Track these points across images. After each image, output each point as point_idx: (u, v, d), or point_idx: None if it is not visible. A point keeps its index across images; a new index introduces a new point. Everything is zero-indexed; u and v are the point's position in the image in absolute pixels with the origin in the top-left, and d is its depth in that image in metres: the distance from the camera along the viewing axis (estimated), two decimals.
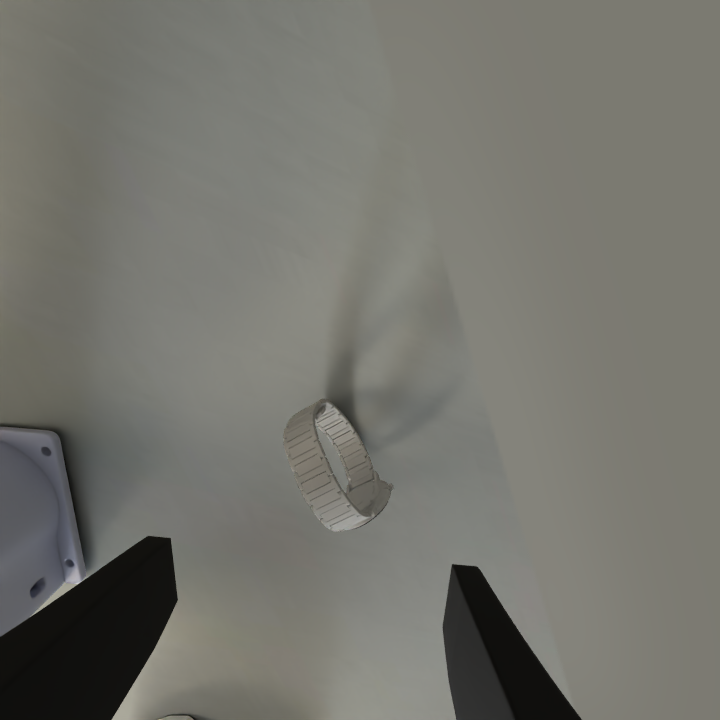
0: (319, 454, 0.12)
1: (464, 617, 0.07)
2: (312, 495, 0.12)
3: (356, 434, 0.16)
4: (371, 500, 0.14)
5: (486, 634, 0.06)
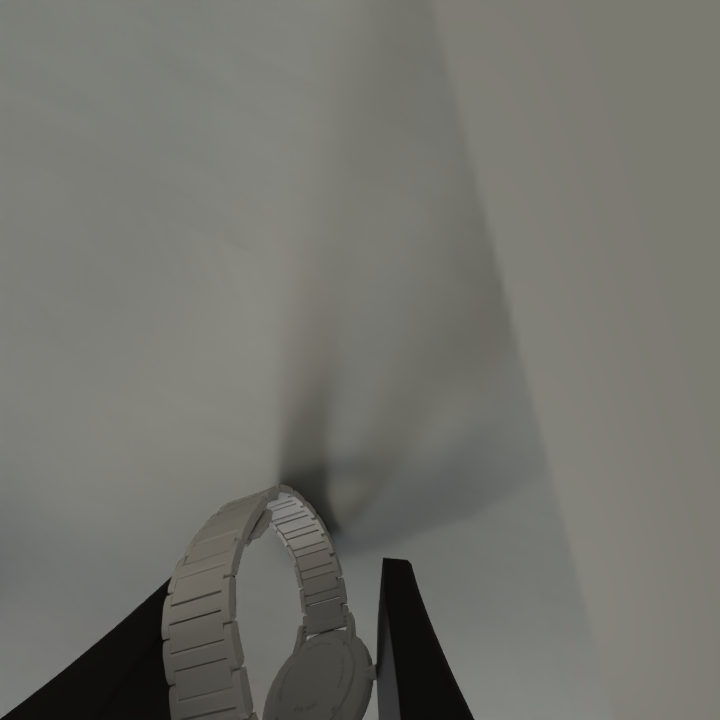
0: (229, 661, 0.05)
1: (383, 608, 0.07)
2: None
3: (327, 538, 0.10)
4: (335, 706, 0.07)
5: (398, 625, 0.07)
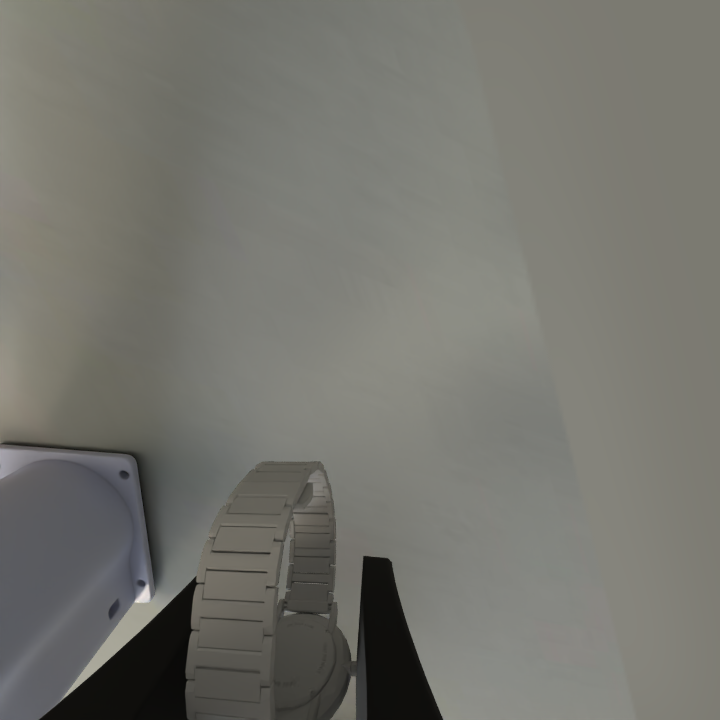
0: (263, 625, 0.05)
1: (361, 607, 0.07)
2: (205, 705, 0.05)
3: (333, 524, 0.10)
4: (313, 690, 0.07)
5: (373, 622, 0.07)
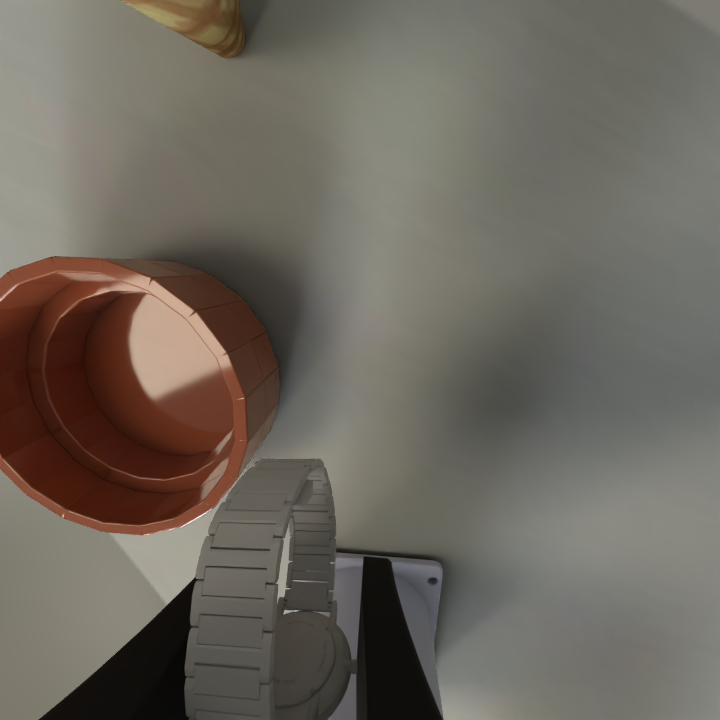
0: (263, 621, 0.05)
1: (361, 606, 0.07)
2: (205, 703, 0.05)
3: (333, 522, 0.10)
4: (313, 688, 0.07)
5: (373, 622, 0.07)
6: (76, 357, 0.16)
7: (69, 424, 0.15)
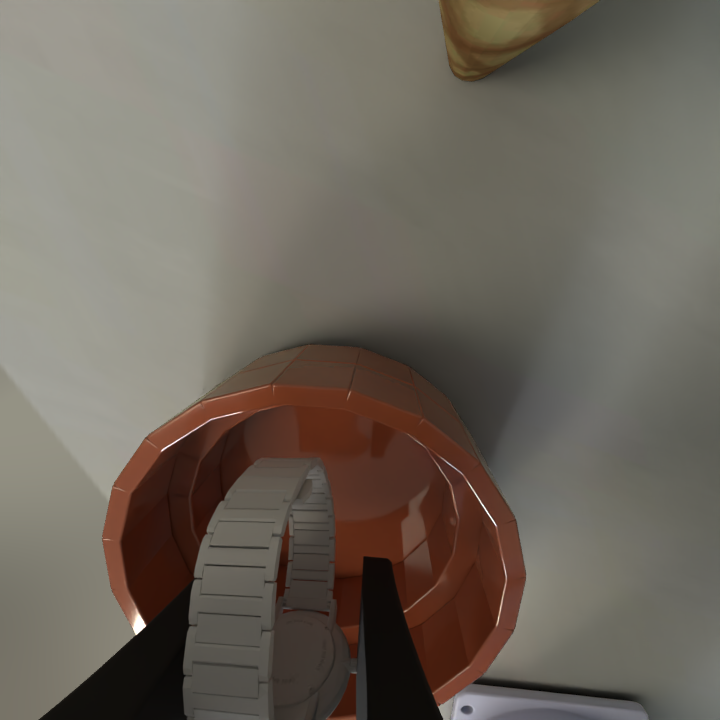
0: (262, 620, 0.05)
1: (361, 607, 0.07)
2: (203, 701, 0.05)
3: (333, 521, 0.10)
4: (312, 687, 0.07)
5: (373, 622, 0.07)
6: (214, 463, 0.12)
7: None
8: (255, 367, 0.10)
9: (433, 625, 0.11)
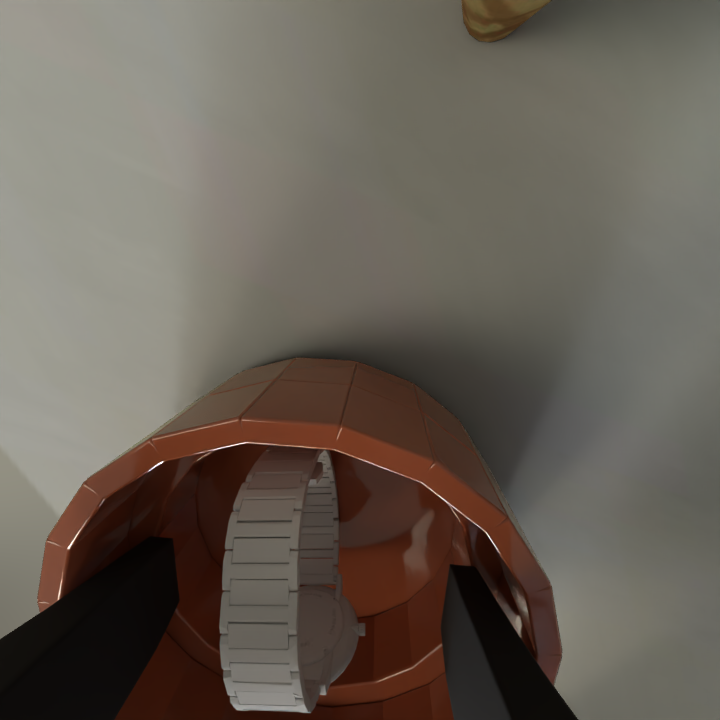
0: (289, 583, 0.06)
1: (461, 616, 0.07)
2: (238, 656, 0.06)
3: (336, 503, 0.10)
4: (326, 649, 0.08)
5: (484, 633, 0.06)
6: (188, 494, 0.10)
7: (184, 605, 0.10)
8: (229, 387, 0.08)
9: (442, 688, 0.09)
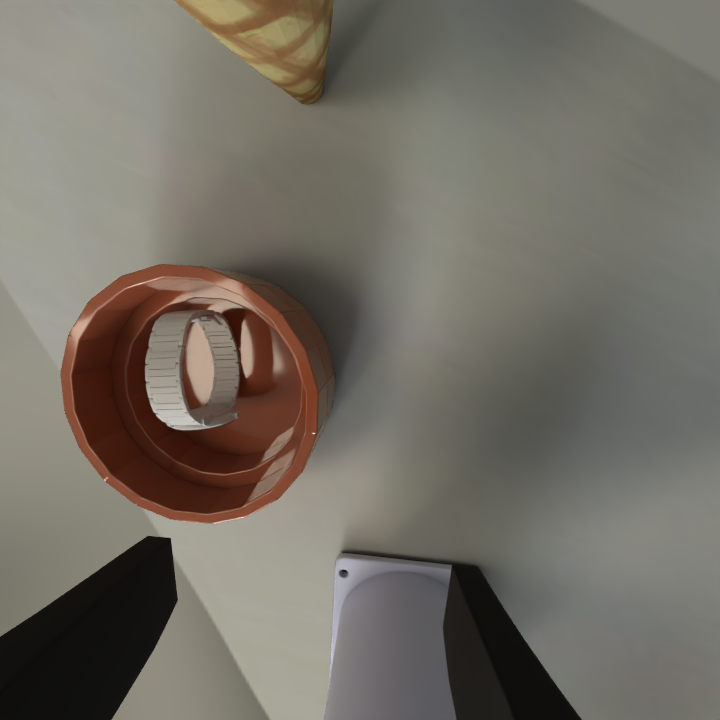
0: (179, 342, 0.13)
1: (464, 617, 0.07)
2: (153, 372, 0.12)
3: (238, 365, 0.17)
4: (212, 416, 0.14)
5: (486, 634, 0.06)
6: None
7: (141, 419, 0.16)
8: None
9: (288, 463, 0.15)
